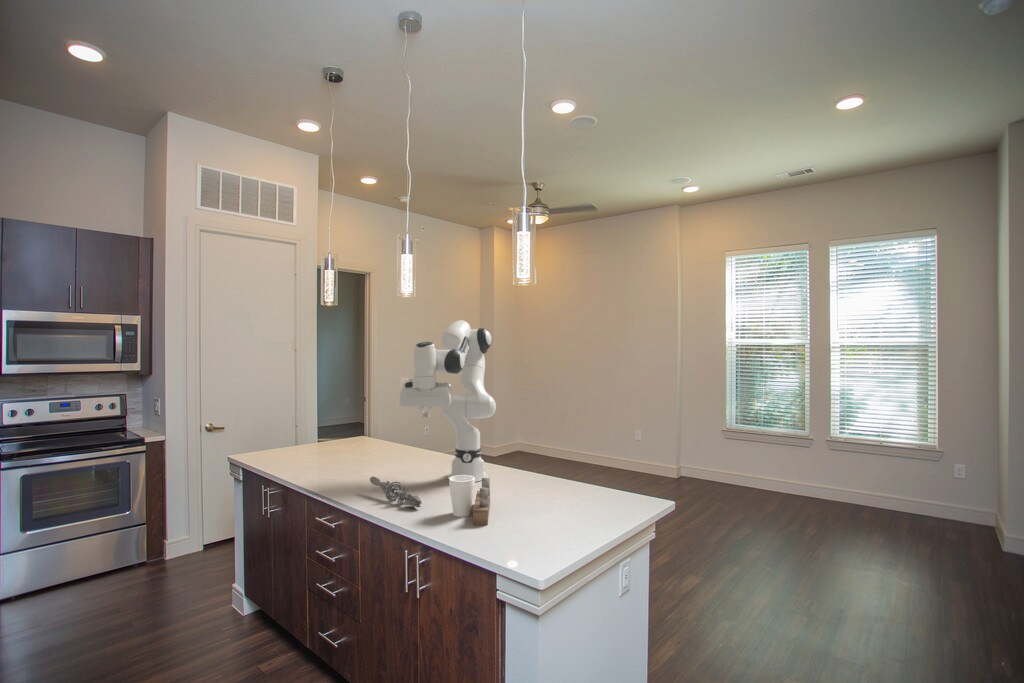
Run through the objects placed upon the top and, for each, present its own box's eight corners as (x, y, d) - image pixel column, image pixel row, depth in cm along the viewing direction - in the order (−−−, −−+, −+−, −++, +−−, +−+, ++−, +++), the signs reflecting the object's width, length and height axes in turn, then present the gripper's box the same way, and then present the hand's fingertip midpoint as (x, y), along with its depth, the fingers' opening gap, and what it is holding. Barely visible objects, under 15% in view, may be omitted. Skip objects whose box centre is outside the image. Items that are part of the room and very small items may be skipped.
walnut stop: (477, 503, 199) (477, 475, 199) (490, 503, 199) (490, 475, 199) (473, 525, 175) (473, 492, 175) (487, 525, 175) (487, 492, 175)
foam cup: (479, 512, 188) (479, 477, 188) (464, 519, 180) (464, 482, 180) (459, 508, 193) (459, 473, 193) (443, 515, 185) (443, 479, 185)
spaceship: (380, 471, 218) (366, 467, 212) (431, 496, 194) (416, 492, 188) (373, 489, 216) (358, 485, 210) (424, 516, 192) (408, 513, 187)
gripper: (452, 381, 206) (452, 415, 207) (402, 382, 207) (402, 416, 207) (450, 383, 200) (450, 418, 200) (398, 383, 200) (399, 418, 201)
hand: (425, 417), depth 204 cm, fingers closed
